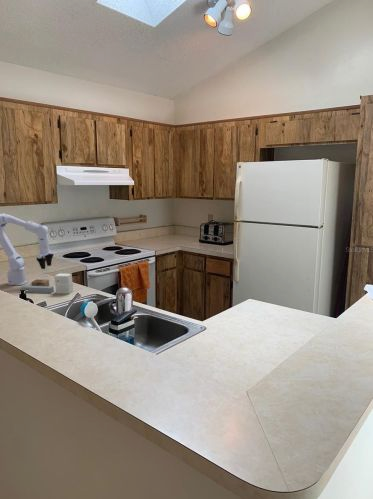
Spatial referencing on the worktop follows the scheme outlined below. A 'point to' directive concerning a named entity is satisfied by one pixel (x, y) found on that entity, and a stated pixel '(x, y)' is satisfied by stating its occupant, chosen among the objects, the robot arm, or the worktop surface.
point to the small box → (63, 283)
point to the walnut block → (40, 282)
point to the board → (38, 289)
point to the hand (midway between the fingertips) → (46, 267)
